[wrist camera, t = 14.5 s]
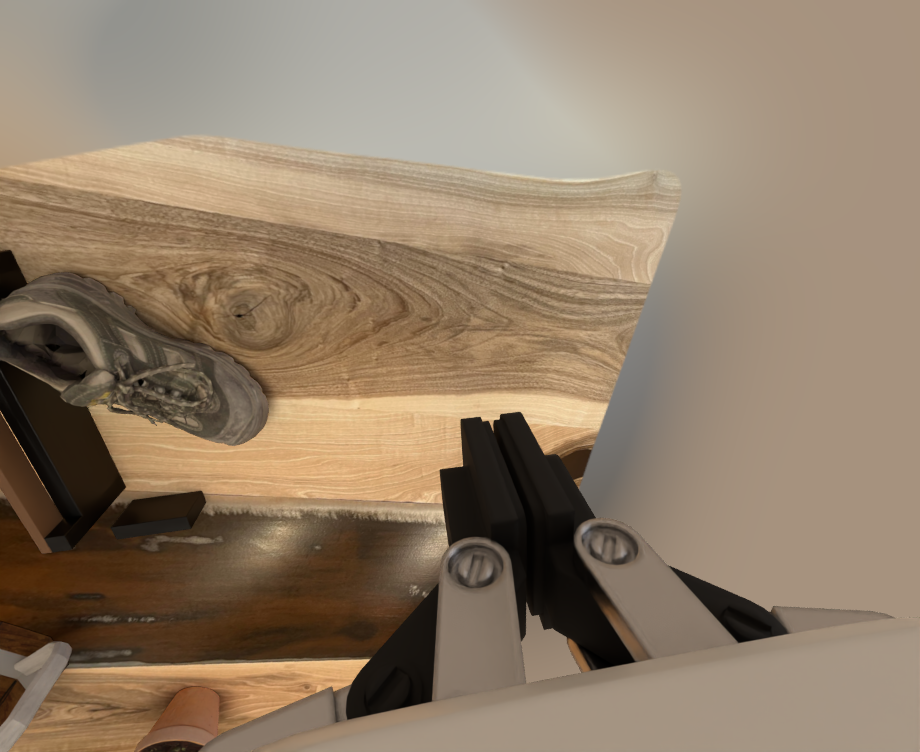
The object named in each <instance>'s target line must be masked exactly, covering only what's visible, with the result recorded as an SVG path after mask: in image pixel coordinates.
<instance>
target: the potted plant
mask: <svg viewBox="0 0 920 752" xmlns="http://www.w3.org/2000/svg"><path fill="white" fill-rule="evenodd" d="M219 701H220V698H219V696H218V694H217V693H216V692H214V691H213V690H211V689H207V688H203V687H189V688H185V689H182V690H181V691H179V692H178V693H177V694H176V695H175V697H174V698H173V699H172V701H171V702H170V703H169V705H168V706H167V708H166V709H165V711H164V712H163V714H162V715H161V717H160V718H159V719H158V721H157V722H156V723H155V725H154V726H153V728H152V729H151V730H150V732H149V733H148V735H146V736H145V737H144V738H143V739H142V740H141V741H140V742H139V743H138V745H137V747H136V749H135V751H134V752H198V751H199V750H200V749H201V748H202V747H203V746H204V745H205V744H206V743H207V742H209V741H211V740H212V739H214V738H215V737H217V736H218V721H219Z"/></svg>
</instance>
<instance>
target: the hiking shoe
mask: <svg viewBox="0 0 920 752" xmlns="http://www.w3.org/2000/svg"><path fill="white" fill-rule="evenodd" d="M135 311H136V309H135V308H133V307H132V306H125V305H124V300H123V297H121V296H120V295H118V294H116V293H115V292H109V293H108V292H107V290H106V288H105V286H104V285H102V284H101V283H99V282H97V281H95V280H93V279H91V278H81V277H79V276H78V275H76V274H73V273H69V272H65V273H54V274H50V275H45V276H41V277H39V278H37V279H35V280H33V281H32V282H30V283H29V284H27V285H26V286H25V287H22V288H20V289H17V290H15V291H13V292H12V293H11V294H10V295H9V296H8V297H7V298H5V299H2V300H1V301H0V360H2V361H6V362H8V363H10V364H11V365H13V366H15V367H17V368H19V369H21V370H23V371H25V372H27V373H29V374H31V375H33V376H35V377H36V378H38V379H40V380H42V381H44V382H46V383H48V384H49V385H51V386H52V387H53V388H55V389H56V390H58V391H60V392H61V396H60V397H61V398H62V399H63V400H64V401H65V402H67V403H70V404H72V405H75V406H81V407H84V406H91V405H96V404H106V405H108V408H107V409H108V410H109V411H110V412H115V413H120V414H133V415H139V416H141V417H143V418H146V419H149V420H150V421H151V423H152V424H155V422H154V421H156V422H161V423H163V422H165V423H168V424H170V425H173V426H174V427H176V428H179V429H182V430H184V431H186V432H188V433H190V434H193V435H195V436H198V437H201V438H203V439H206V440H209V441H213V442H216V443H225V444H227V445H231V446H235V445H240V444H243V443H245V442H247V441H249V440H250V439H252V438H254V437H255V436H256V435H257V434H258V433H259V432H260V431H261V430H262V429H263V427H264V426H265V424H266V421H267V417H268V413H269V404H268V401H267V398H266V396H265V395H264V394H263V393H262V388H261V386H260V385H259V384H258V382H257V381H255V380H254V379H253V378H251V377H250V376H249V375H250V373H249V372H248V371H247V370H246V369H245V368H244V367H243V366H242V365H240V364H237V363H235V362H234V359H233V358H232V357H230V356H229V355H227V354H225V353H223V352H217V351H214V350H213V349H212V348H211V347H210V346H208V345H205V344H202V343H192V342H191V341H189V340H184V339H173V338H169V337H167V336H164V335H162V334H160V333H158V332H155V331H154V330H152V329H151V328H149V327H148V326H147V325H146V324H144V323H143V322H142V321H141V320H140V319H139V318H138V317H137V316H136V315H135V314H134V313H135ZM113 403H115V404H118V405H122V406H124V407H126V408H127V409H129V410H131V411H126V410H123V409H119V408H113V406H112V405H113ZM148 415H150V416H152V417H155V418H157V419H158V420H155V419H153V418H150V417H149V416H148ZM155 425H156V424H155ZM156 426H157V425H156Z"/></svg>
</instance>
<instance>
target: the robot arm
mask: <svg viewBox="0 0 920 752" xmlns="http://www.w3.org/2000/svg"><path fill="white" fill-rule="evenodd" d="M493 427H494V433H493V430H492V428H491V425H490V423H489V421H484V422H482V419H481V417H474V418H466V419H461V439H462V455H463V467H455V468H448V469H440V480H441V490H442V500H443V509H444V516H445V524H446V530H447V537H448V543H449V548H448V549H447V550H446V551H445V553H444V554H443V556H442V559H441V563H440V575H439V583H438V584H437V585H436V587H435V588H434V589H433V590H432V591H431V592H430V593H429V594H428V595H427V597H426V598H425V599H424V600H423V601H422V602H421V603H420V604H419V606H418V607H417V608H416V609H415V610H414V611H413V612H412V613H411V615H410V616H409V617H408V618H407V619H406V620H405V621H404V622H403V624H402V625H401V626H400V627H399V628H398V629H397V630H396V631H395V633H394V634H393V635H392V636H391V637H390V638H389V639H388V640H387V641H386V643H385V644H384V645H383V646H382V647H381V648H380V649H379V650H378V652H377V653H376V654H375V655H374V656H373V657H372V658H371V659H370V661H369V662H368V663H367V664H366V665H365V666H364V667H363V668H362V670H361V671H360V672H359V674H358V675H357V676H356V678H355V679H354V681H353V682H352V684H351V685H349V686H346V687H344V688H342V689H339V690H337V691H335V692H333V688H332V687H329V688H327V689H325V690H322V691H320V692H317V693H315V694H313V695H310V696H308V697H306V698H303V699H301V700H299V701H296V702H294V703H292V704H289V705H287V706H285V707H282V708H280V709H278V710H275V711H273V712H271V713H268V714H266V715H264V716H261V717H259V718H257V719H254V720H252V721H250V722H247V723H245V724H243V725H240V726H238V727H236V728H233V729H231V730H229V731H226V732H224V733H222V734H220V735H219V736H217V737H215V738H214V739H212V740H211V741H209V742H207V743H206V744H205V745H204V746H203V747H202V748H201V749H200V750H199V751H198V752H920V617H912V618H911V617H909V618H894V617H892V616H890V615H887V614H883V613H878V612H873V611H860V610H840V609H820V608H819V609H818V608H800V607H780V606H773V608H772V610H771V612H768V611H767V610H765V609H764V608H763V607H761V606H759V605H757V604H755V603H753V602H751V601H749V600H747V599H745V598H743V597H740V596H738V595H735V594H733V593H731V592H728V591H726V590H724V589H722V588H719V587H717V586H715V585H712V584H710V583H708V582H706V581H703V580H701V579H699V578H696V577H694V576H691V575H689V574H687V573H685V572H682V571H680V570H678V569H675V568H673V567H671V566H668V565H667V564H666V563H665V562H664V561H663V560H662V559H661V557H660V556H659V555H658V554H657V553H656V552H655V551H654V550H653V549H652V547H651V546H650V545H649V544H648V543H647V542H646V541H645V540H644V539H643V538H642V536H641V535H640V534H639V533H638V532H636V531H635V530H634V529H633V528H632V527H630V526H628V525H626V524H624V523H623V522H620V521H617V520H614V519H609V518H596V517H595V516H594V514H593V512H592V511H591V509H590V508H589V506H588V504H587V502H586V501H585V499H584V497H583V496H582V494H581V492H580V491H579V489H578V487H577V486H576V484H575V482H574V481H573V479H572V477H571V476H570V474H569V472H568V471H567V469H566V467H565V465H564V464H563V462H562V460H561V459H560V457H559V456H558V455H556V454H552V455H544V453H543V451H542V450H541V448H540V446H539V444H538V442H537V440H536V439H535V437H534V435H533V433H532V431H531V429H530V428H529V426H528V424H527V422H526V420H525V419H524V417H523V415H522V413H521V412H515V413H507V414H501V415H500V420H494V424H493ZM526 601H527V604H528V607H529V610H530V613H531V615H532V616H534V615H539V617H540V620H541V622H542V625H543V628H544V630H546V629H551V628H554V630H556V631H557V632H559V633H561V634H563V635H564V636H566V637H567V644H568V647H569V649H570V652H571V654H572V656H573V658H574V659H575V661H576V663H577V665H578V667H579V669H580V671H581V673H578V674H573V675H567V676H562V677H557V678H552V679H546V680H541V681H537V682H531V683H526V678H525V670H524V662H523V653H522V645H521V641H522V640H523V638H524V637H525V635H526Z"/></svg>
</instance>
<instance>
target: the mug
mask: <svg viewBox="0 0 920 752" xmlns="http://www.w3.org/2000/svg"><path fill="white" fill-rule="evenodd" d="M71 651H72V648H71V647H70V646H69V644H67V643H64V642H53V640H52V639H51V637H48V636H45V635H42V634H39V633H36V632H33V631H30V630H26V629H23V628H20V627H17V626H14V625H11V624H8V623H4V622H0V752H8V751H9V750H10V749H11V748H12V746H13V745H14V744H15V743H16V741H17V740H18V739H19V737H20V736H21V735H22V734H23V732H24V731H25V730H26V729H27V727H28V725H29V724H30V722H31V720H32V719H33V717H34V715H35V714H36V712H37V710H38V709H39V707H40V705H41V704H42V702H43V700H44V699H45V697H46V696H47V694H48V693H49V691H50V690H51V688H52V687H53V685H54V684H55V682H56V681H57V679H58V678H59V676H60V674H61V673H62V672H63V671H64V669H65V668H66V667H67V666H68V665H69V664H68V660H69V657H70V654H71Z"/></svg>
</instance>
